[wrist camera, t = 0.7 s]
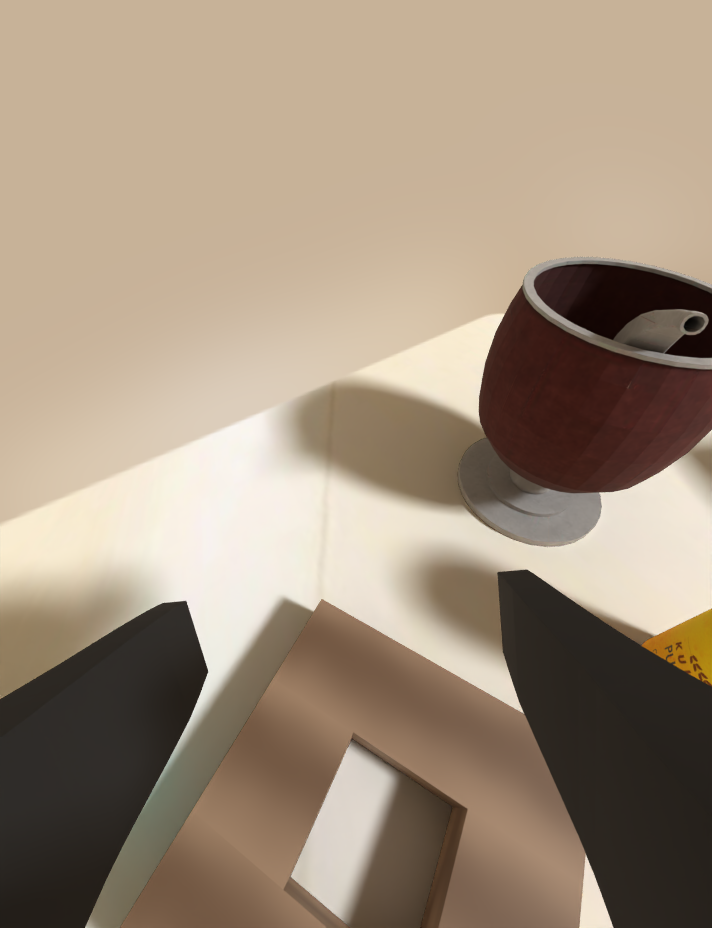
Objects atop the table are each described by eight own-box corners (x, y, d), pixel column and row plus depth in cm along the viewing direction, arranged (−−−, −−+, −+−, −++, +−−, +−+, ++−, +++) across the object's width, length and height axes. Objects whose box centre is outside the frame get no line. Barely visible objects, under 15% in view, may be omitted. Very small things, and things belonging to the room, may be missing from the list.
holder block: (493, 1344, 11) (531, 1481, 9) (126, 947, 16) (92, 973, 14) (566, 757, 21) (594, 753, 19) (323, 615, 25) (321, 598, 23)
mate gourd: (468, 417, 40) (546, 192, 25) (607, 460, 36) (797, 228, 21) (424, 531, 30) (509, 276, 15) (607, 603, 27) (950, 366, 12)
